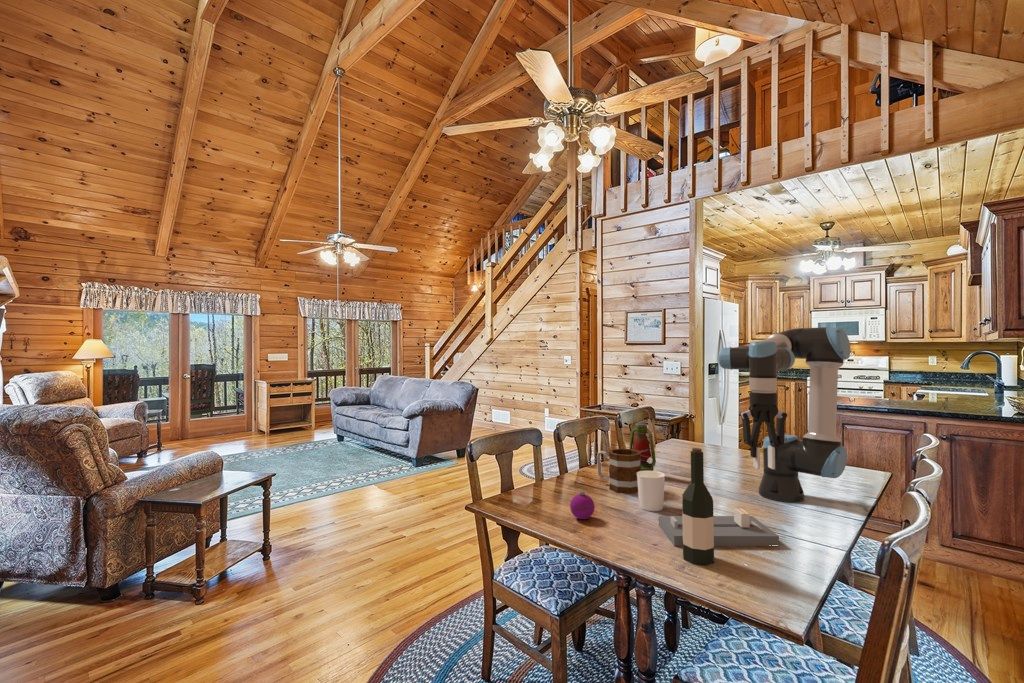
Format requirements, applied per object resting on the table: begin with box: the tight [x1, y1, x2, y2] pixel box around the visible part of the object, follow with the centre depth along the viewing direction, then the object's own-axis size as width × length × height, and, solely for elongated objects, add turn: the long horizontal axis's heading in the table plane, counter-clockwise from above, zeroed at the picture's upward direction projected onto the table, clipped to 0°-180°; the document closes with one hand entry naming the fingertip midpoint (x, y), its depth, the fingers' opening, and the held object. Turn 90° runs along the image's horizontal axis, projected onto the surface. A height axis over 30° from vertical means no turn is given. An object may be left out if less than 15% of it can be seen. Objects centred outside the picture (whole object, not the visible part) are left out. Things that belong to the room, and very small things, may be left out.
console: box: [658, 515, 780, 547], centre depth 145 cm, size 30×16×5 cm, turn 88°
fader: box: [733, 507, 750, 527], centre depth 145 cm, size 2×5×4 cm, turn 178°
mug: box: [596, 447, 641, 495], centre depth 195 cm, size 20×14×15 cm
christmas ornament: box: [569, 488, 595, 520], centre depth 160 cm, size 8×8×10 cm
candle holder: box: [637, 470, 666, 512], centre depth 170 cm, size 10×10×12 cm
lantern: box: [628, 407, 657, 471], centre depth 212 cm, size 14×11×30 cm
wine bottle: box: [681, 447, 715, 567], centre depth 129 cm, size 8×8×30 cm
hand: (764, 467), depth 145 cm, fingers open, 4 cm apart
